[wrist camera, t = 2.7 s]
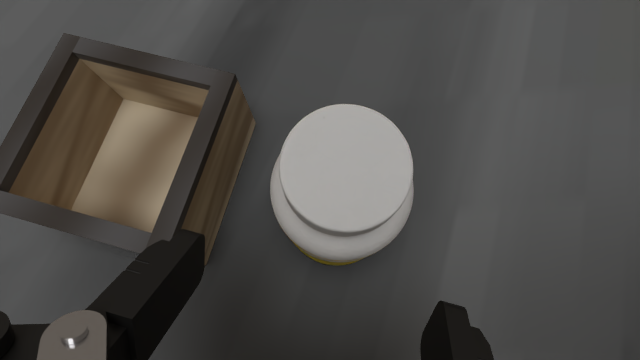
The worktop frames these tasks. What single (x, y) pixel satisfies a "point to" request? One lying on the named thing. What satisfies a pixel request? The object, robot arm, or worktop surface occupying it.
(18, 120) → the wooden box
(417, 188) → the worktop surface
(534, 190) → the worktop surface
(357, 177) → the pill bottle
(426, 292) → the worktop surface
